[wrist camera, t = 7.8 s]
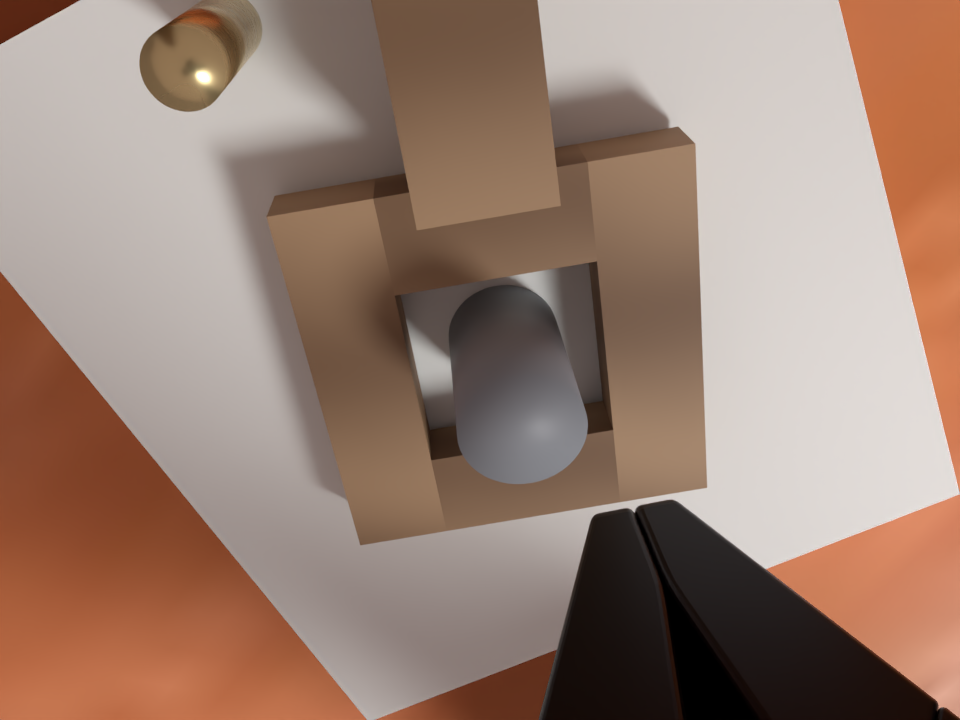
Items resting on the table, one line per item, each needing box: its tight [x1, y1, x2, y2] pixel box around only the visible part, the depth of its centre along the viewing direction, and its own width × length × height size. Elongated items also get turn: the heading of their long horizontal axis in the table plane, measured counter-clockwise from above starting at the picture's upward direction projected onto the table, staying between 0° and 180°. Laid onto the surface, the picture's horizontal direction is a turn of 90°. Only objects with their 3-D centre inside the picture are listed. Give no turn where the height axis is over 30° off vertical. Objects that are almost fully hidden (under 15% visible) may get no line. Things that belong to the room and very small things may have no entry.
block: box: [267, 0, 707, 545], centre depth 17 cm, size 14×8×3 cm, turn 9°
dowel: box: [139, 0, 262, 112], centre depth 15 cm, size 1×1×4 cm
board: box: [0, 0, 960, 720], centre depth 19 cm, size 19×17×5 cm
